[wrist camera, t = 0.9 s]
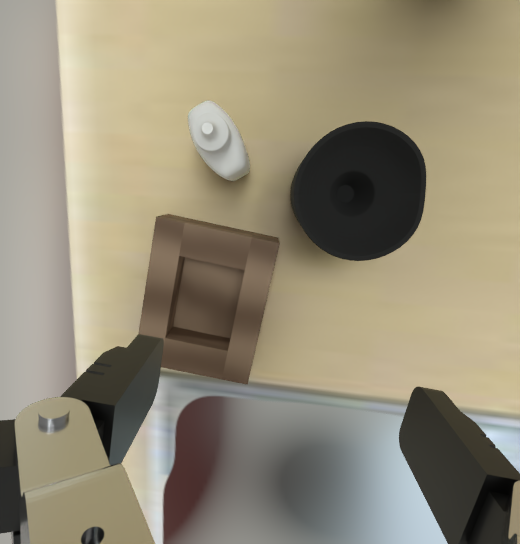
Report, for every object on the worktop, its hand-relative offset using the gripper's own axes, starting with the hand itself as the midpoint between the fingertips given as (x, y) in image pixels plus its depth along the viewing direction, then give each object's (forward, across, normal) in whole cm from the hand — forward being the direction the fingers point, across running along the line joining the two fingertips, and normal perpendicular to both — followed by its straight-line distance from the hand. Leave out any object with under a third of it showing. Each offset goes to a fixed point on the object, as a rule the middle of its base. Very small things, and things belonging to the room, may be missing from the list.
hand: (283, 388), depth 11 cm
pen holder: (+26, -5, -6) cm, 27 cm away
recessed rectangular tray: (+25, +5, +6) cm, 26 cm away
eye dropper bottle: (+26, +6, -8) cm, 28 cm away
